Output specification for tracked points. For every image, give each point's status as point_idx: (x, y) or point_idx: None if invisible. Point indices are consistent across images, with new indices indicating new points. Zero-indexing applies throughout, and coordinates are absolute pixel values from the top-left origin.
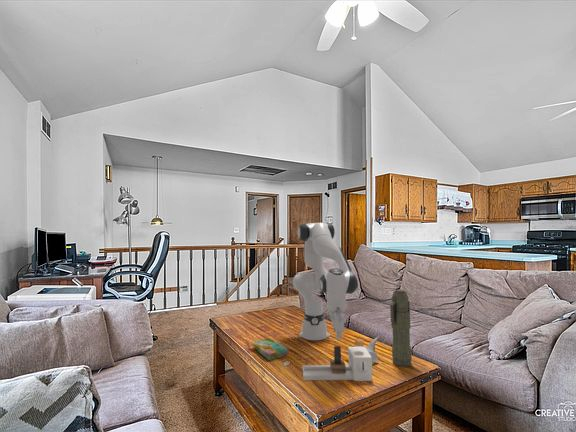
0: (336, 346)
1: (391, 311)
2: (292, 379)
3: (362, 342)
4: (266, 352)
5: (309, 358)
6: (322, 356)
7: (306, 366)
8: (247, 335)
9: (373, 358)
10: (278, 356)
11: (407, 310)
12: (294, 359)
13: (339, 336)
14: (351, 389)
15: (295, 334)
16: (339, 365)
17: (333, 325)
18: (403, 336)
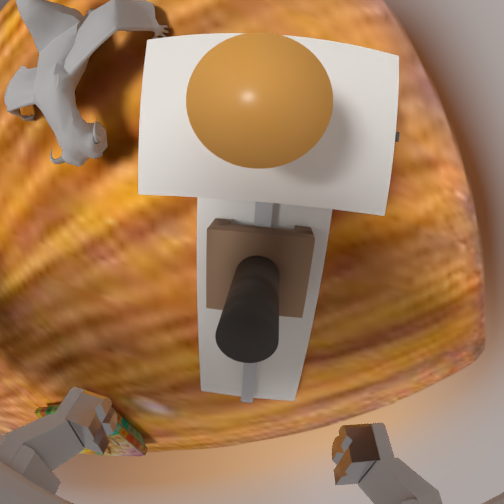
0: (226, 342)
1: None
2: (280, 412)
3: (321, 70)
4: (134, 455)
5: (100, 331)
6: (73, 275)
7: (211, 381)
8: (23, 419)
9: (145, 18)
10: (118, 416)
11: None
12: (120, 380)
13: (385, 459)
14: (413, 224)
15: None
16: (297, 274)
17: (64, 459)
18: None
